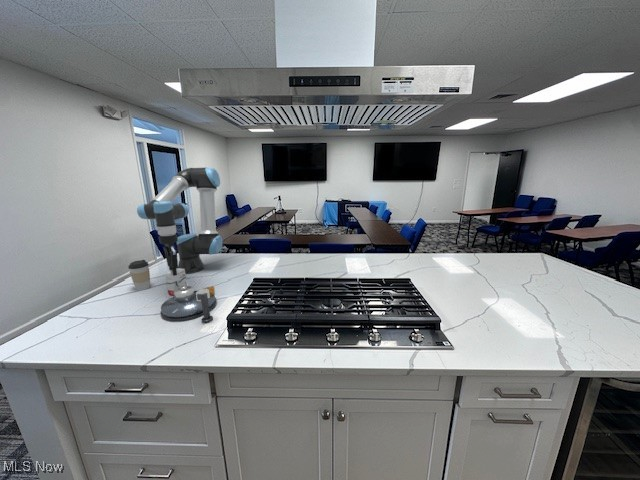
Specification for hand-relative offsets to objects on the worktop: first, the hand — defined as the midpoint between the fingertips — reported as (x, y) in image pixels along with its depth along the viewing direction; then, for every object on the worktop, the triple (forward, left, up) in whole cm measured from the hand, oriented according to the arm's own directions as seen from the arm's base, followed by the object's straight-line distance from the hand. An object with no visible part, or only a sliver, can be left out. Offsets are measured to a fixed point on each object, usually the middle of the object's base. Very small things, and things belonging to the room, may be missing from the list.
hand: (175, 280), depth 123 cm
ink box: (-6, -4, -9) cm, 11 cm away
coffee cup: (-9, -27, -9) cm, 30 cm away
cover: (+6, +9, -5) cm, 12 cm away
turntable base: (+9, +13, -9) cm, 18 cm away
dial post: (+18, +27, -9) cm, 34 cm away
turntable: (+9, +13, -7) cm, 17 cm away
